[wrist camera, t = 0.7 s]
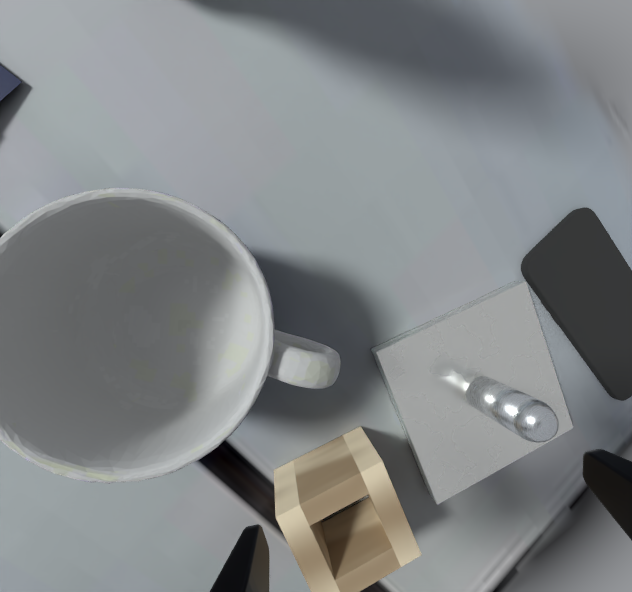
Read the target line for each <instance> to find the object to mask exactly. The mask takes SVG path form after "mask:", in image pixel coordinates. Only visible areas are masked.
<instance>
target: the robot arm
mask: <svg viewBox="0 0 632 592" xmlns="http://www.w3.org/2000/svg"><path fill="white" fill-rule="evenodd" d="M583 478H584V480H585V482H586V484H587V485H588V487H589V488H590V489H591V491H592V492H593V493H594V494H595V495H596V497H597V498H598V499H599V500H600V502H601V503H602V504H603V505H604V507H605V508H606V509H607V510H608V511H609V513H610V514H611V515H612V517H613V518H614V519H615V520H616V521H617V523H618V524H619V525H620V526H621V528H622V529H623V530H624V531H625V533H626V534H627V535H628V536H629V538H630V539H631V540H632V462H631V461H629V460H626V459H624V458H622V457H619V456H617V455H615V454H612V453H610V452H607V451H605V450H601V449H596V450H592V451H587V452H585V453H584V455H583ZM210 592H269V548H268V544H267V541H266V538H265V535H264V532H263V529H262V527H261V526H260V525H258V524H257V525H253V526H248V527H246V528H245V529H244V530H243V532H242V534H241V536H240V538H239V539H238V541H237V543H236V545H235V547H234V549H233V550H232V552H231V554H230V556H229V558H228V559H227V561H226V563H225V565H224V567H223V569H222V570H221V572H220V574H219V576H218V578H217V579H216V581H215V583H214V585H213V587H212V589H211V590H210Z"/></svg>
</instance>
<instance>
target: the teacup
mask: <svg viewBox="0 0 632 592" xmlns="http://www.w3.org/2000/svg"><path fill="white" fill-rule="evenodd" d="M340 363H341V362H340V356H339V354H338V353H337V351H335V350H334V349H332V348H330V347H328V346H326V345H324V344H321V343H318V342H315V341H312V340H309V339H306V338H302V337H299V336H296V335H292V334H288V333H284V332H281V331H278V330H275V323H274V312H273V305H272V300H271V295H270V291H269V288H268V285H267V282H266V279H265V276H264V274H263V272H262V271H261V269H260V267H259V265H258V263H257V261H256V259H255V257H254V256H253V254H252V253H251V252H250V250H249V249H248V248H247V246H246V245H245V244H244V243H243V242H242V241H241V240H240V239H239V238H238V237H237V236H236V234H235V233H234V232H233V231H232V230H230V229H229V228H228V227H227V226H226V225H225V224H224V223H222V222H221V221H220V220H218V219H217V218H215V217H214V216H212V215H210V214H209V213H207V212H206V211H204V210H202V209H201V208H199V207H197V206H196V205H193V204H191V203H189V202H187V201H184V200H182V199H180V198H177V197H174V196H171V195H168V194H165V193H160V192H156V191H151V190H143V189H132V188H106V189H101V190H94V191H87V192H81V193H78V194H74V195H70V196H66V197H63V198H61V199H59V200H56V201H54V202H52V203H49V204H47V205H45V206H43V207H41V208H39V209H38V210H36V211H34V212H32V213H30V214H29V215H27V216H25V217H24V218H23V219H22V220H20V221H19V222H18V223H17V224H15V225H14V226H13V227H12V228H11V229H10V230H8V231H7V232H6V233H5V234H4V235H3V236H2V237H1V238H0V440H1V441H2V442H3V443H4V444H5V445H6V446H7V447H9V448H10V449H11V450H13V451H15V452H17V453H18V454H19V455H20V456H21V457H23V458H24V459H26V460H27V461H29V462H32V463H34V464H36V465H37V466H39V467H41V468H42V469H45V470H47V471H50V472H52V473H55V474H58V475H63V476H66V477H69V478H72V479H76V480H81V481H86V482H102V483H108V484H110V483H113V482H126V481H141V480H144V479H151V478H155V477H159V476H163V475H166V474H169V473H173V472H175V471H177V470H179V469H181V468H183V467H185V466H187V465H189V464H191V463H193V462H195V461H197V460H199V459H201V458H202V457H204V456H205V455H207V454H208V453H210V452H211V451H212V450H214V449H215V448H217V447H218V446H219V445H220V444H221V443H222V442H223V441H224V440H225V439H227V438H228V437H229V436H230V435H231V434H232V433H233V432H234V431H235V430H236V429H237V428H238V426H239V425H240V424H241V422H242V421H243V420H244V419H245V417H246V416H247V415H248V413H249V411H250V410H251V408H252V407H253V405H254V403H255V401H256V399H257V397H258V395H259V393H260V391H261V389H262V387H263V385H264V382H265V380H266V377H267V376H268V377H271V378H274V379H276V380H279V381H282V382H285V383H288V384H291V385H295V386H300V387H304V388H313V389H322V388H327V387H329V386H331V385H333V384H334V382H335V381H336V379H337V377H338V375H339V371H340Z"/></svg>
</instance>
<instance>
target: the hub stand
mask: <svg viewBox="0 0 632 592" xmlns="http://www.w3.org/2000/svg"><path fill="white" fill-rule="evenodd" d="M371 350H372V352H373V355H374V357H375V360H376V362H377V365H378V367H379V370H380V372H381V375H382V377H383V380H384V382H385V385H386V387H387V390H388V392H389V395H390V397H391V400H392V402H393V405H394V407H395V410H396V412H397V415H398V417H399V420H400V422H401V425H402V427H403V430H404V432H405V435H406V437H407V440H408V442H409V445H410V447H411V450H412V452H413V455H414V457H415V460H416V462H417V465H418V467H419V470H420V472H421V475H422V477H423V480H424V482H425V484H426V487H427V489H428V492H429V494H430V496H431V497H432V499H433V500H434V501H435V503H436V504H437V505H438V504H440V503H442V502H443V501H445V500H447V499H449V498H450V497H452V496H454V495H456V494H458V493H459V492H461V491H463V490H465V489H466V488H468V487H470V486H472V485H473V484H475V483H477V482H479V481H481V480H482V479H484V478H486V477H488V476H489V475H491V474H493V473H495V472H497V471H498V470H500V469H502V468H504V467H505V466H507V465H509V464H511V463H512V462H514V461H516V460H518V459H520V458H521V457H523V456H525V455H527V454H528V453H530V452H532V451H534V450H536V449H537V448H539V447H541V446H543V445H544V444H546V443H548V442H550V441H551V440H553V439H555V438H557V437H559V436H560V435H562V434H564V433H566V432H567V431H569V430H571V429H573V425H572V422H571V419H570V415H569V412H568V409H567V406H566V403H565V400H564V397H563V394H562V391H561V388H560V385H559V382H558V379H557V375H556V372H555V369H554V366H553V363H552V360H551V357H550V354H549V351H548V348H547V345H546V342H545V338H544V335H543V332H542V329H541V326H540V323H539V320H538V317H537V314H536V311H535V308H534V305H533V302H532V298H531V295H530V292H529V289H528V286H527V283H526V281H514V282H512V283H510V284H508V285H505V286H503V287H501V288H499V289H497V290H495V291H493V292H491V293H488V294H486V295H484V296H482V297H480V298H478V299H476V300H474V301H471V302H469V303H467V304H465V305H463V306H461V307H459V308H457V309H454V310H452V311H450V312H448V313H446V314H444V315H442V316H440V317H437V318H435V319H433V320H431V321H429V322H427V323H425V324H423V325H420V326H418V327H416V328H414V329H412V330H410V331H408V332H406V333H403V334H401V335H399V336H397V337H395V338H393V339H391V340H389V341H386V342H384V343H382V344H380V345H378V346H376V347H374V348H372V349H371Z"/></svg>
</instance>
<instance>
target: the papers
mask: <svg viewBox="0 0 632 592" xmlns="http://www.w3.org/2000/svg"><path fill="white" fill-rule="evenodd" d="M21 82H22V81H20V80H19V79H18V78H16V77H15V76H14V75H13V74H11V73H10V72H9V71H7V70H6V69H5V68H4V67H2V66H1V65H0V101H1V100H2V99H3V98H4V97H5V96H6V95H8V94H9V93H10V92H11V91H12V90H13V89H14V88H16V87H17V86H18V85H19V84H20V83H21Z"/></svg>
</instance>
